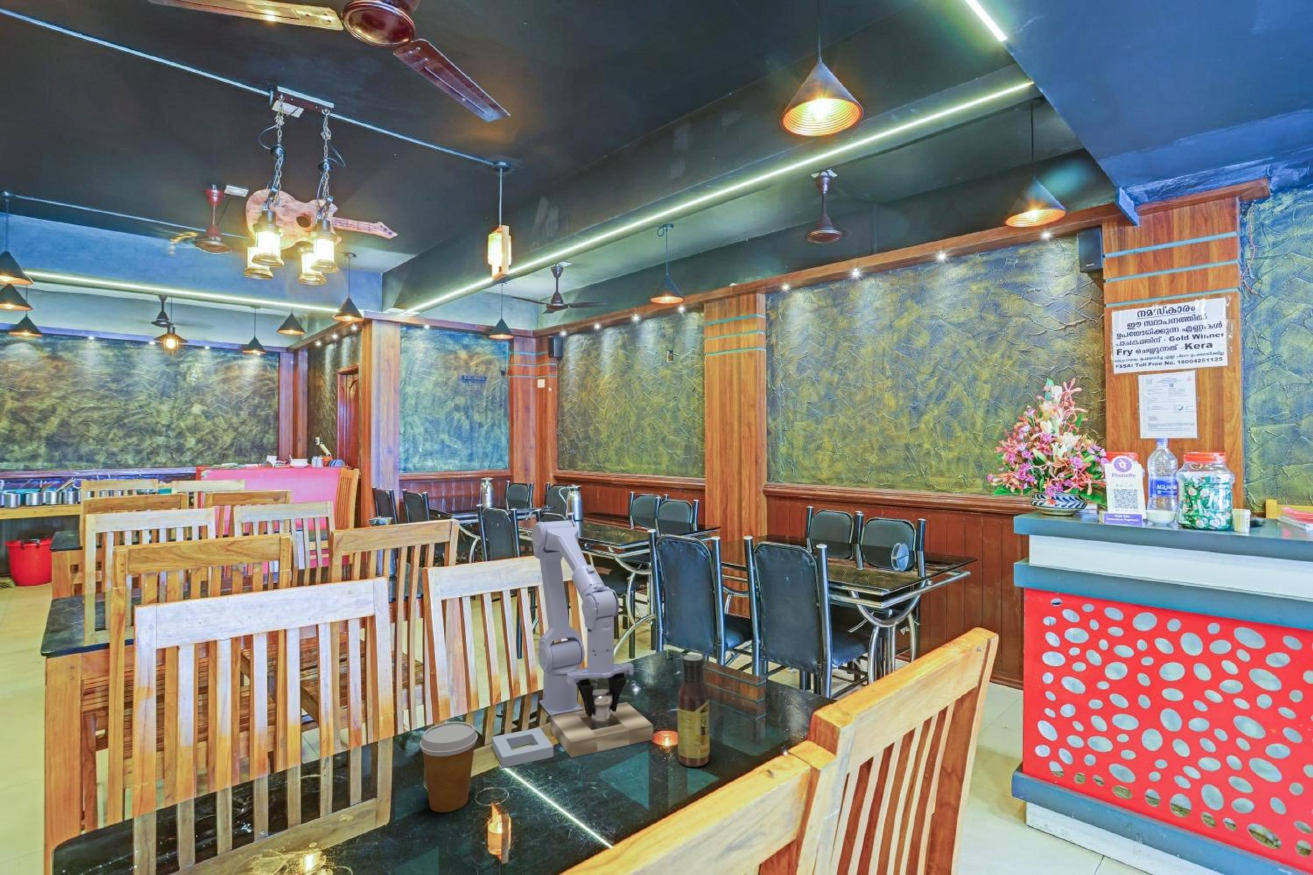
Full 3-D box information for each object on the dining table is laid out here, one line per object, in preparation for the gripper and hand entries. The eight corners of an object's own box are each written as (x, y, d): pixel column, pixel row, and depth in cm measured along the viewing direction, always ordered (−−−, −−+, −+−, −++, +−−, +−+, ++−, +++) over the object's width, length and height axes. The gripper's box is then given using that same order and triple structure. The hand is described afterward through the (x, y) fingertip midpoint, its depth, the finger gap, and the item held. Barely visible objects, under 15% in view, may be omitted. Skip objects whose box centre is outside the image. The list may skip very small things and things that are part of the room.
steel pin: (585, 728, 136) (586, 691, 137) (607, 724, 139) (607, 687, 139) (593, 737, 132) (594, 698, 132) (616, 733, 134) (616, 695, 134)
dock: (550, 730, 138) (550, 716, 138) (626, 715, 146) (626, 701, 146) (571, 757, 125) (571, 742, 125) (653, 739, 133) (653, 724, 133)
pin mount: (491, 746, 130) (491, 736, 130) (539, 736, 135) (539, 727, 135) (502, 767, 121) (502, 757, 121) (553, 756, 126) (553, 746, 126)
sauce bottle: (707, 770, 120) (706, 663, 120) (675, 767, 121) (674, 662, 122) (711, 754, 126) (710, 653, 127) (680, 751, 127) (679, 651, 128)
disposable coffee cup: (474, 783, 115) (475, 717, 116) (480, 810, 106) (480, 738, 107) (419, 794, 112) (419, 725, 112) (419, 823, 103) (420, 748, 103)
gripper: (574, 658, 129) (574, 725, 129) (639, 648, 136) (639, 712, 135) (563, 648, 135) (563, 713, 135) (626, 639, 142) (626, 701, 141)
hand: (600, 712), depth 135 cm, fingers closed on steel pin, 5 cm apart
